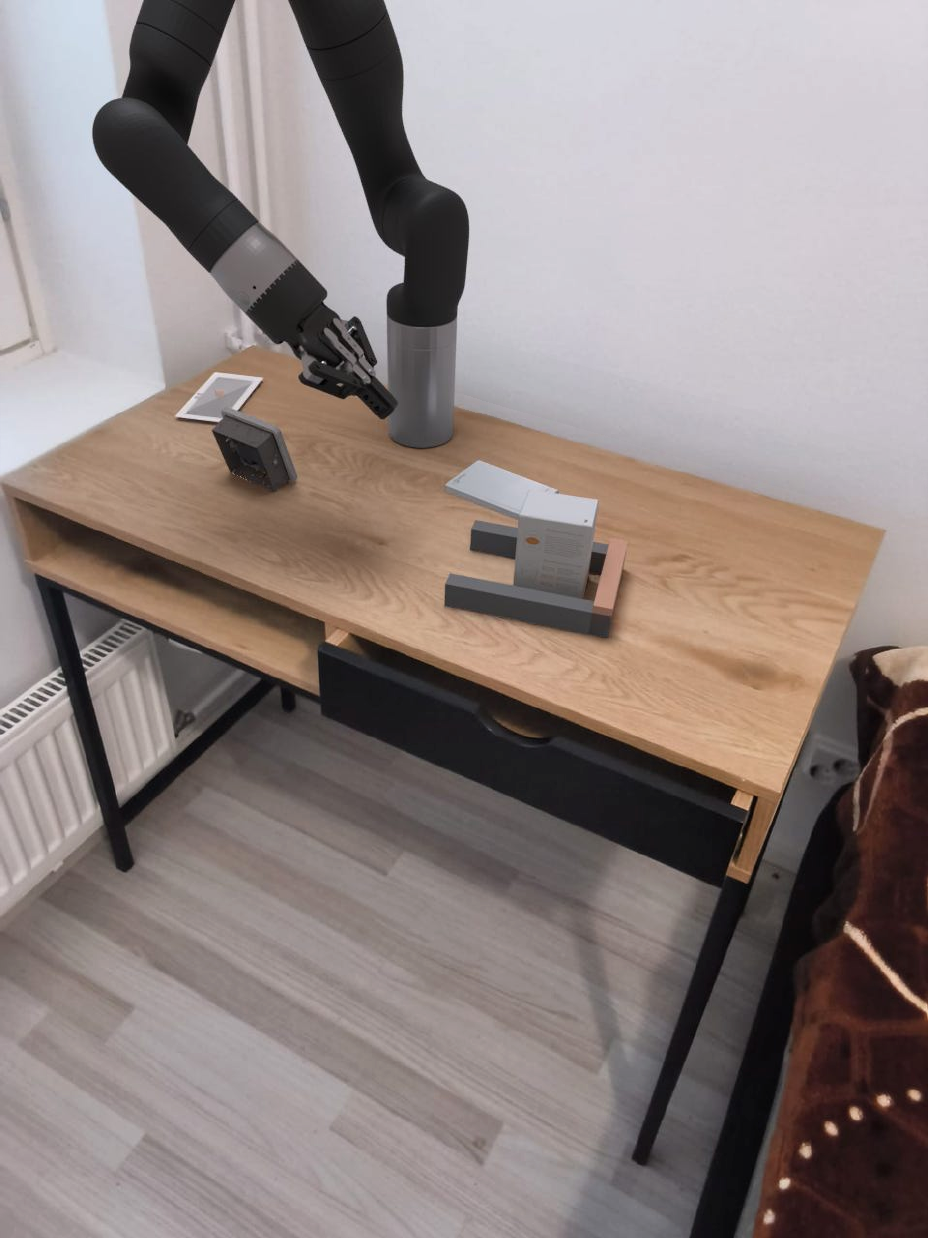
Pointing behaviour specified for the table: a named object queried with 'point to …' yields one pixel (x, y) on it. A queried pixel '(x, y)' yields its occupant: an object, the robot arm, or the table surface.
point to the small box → (555, 543)
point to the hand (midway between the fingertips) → (391, 411)
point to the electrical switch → (254, 449)
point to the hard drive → (494, 488)
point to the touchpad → (219, 396)
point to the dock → (534, 602)
